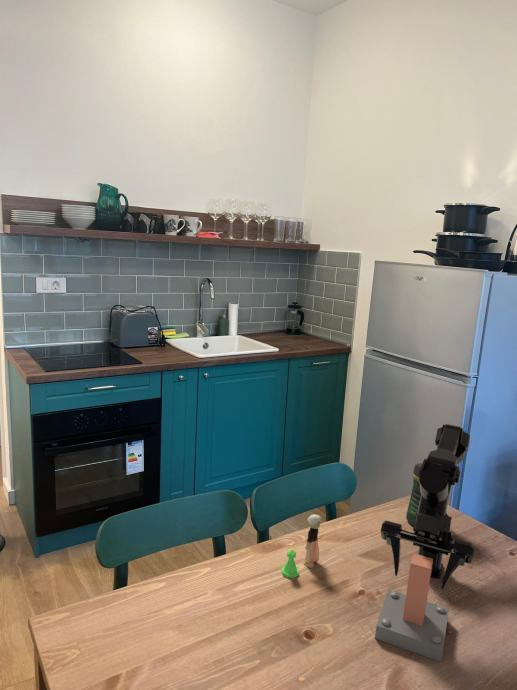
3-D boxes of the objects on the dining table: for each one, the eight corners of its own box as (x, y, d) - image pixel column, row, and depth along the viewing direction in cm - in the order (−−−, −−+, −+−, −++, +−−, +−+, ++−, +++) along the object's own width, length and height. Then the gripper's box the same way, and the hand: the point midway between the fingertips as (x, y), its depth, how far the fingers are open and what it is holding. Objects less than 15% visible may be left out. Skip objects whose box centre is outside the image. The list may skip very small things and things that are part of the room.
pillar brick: (405, 608, 115) (413, 553, 112) (424, 614, 113) (433, 558, 111) (402, 619, 111) (410, 563, 108) (422, 626, 109) (431, 569, 107)
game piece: (296, 580, 126) (298, 557, 125) (278, 575, 128) (280, 552, 126) (300, 569, 130) (303, 547, 129) (283, 565, 132) (285, 543, 130)
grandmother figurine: (317, 571, 130) (322, 523, 128) (301, 568, 131) (306, 521, 128) (320, 554, 137) (324, 508, 135) (305, 551, 138) (309, 506, 136)
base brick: (386, 601, 121) (388, 587, 120) (447, 620, 116) (449, 606, 115) (374, 638, 109) (376, 623, 109) (441, 661, 104) (443, 646, 104)
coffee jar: (419, 532, 151) (428, 471, 148) (401, 518, 158) (409, 459, 155) (445, 527, 155) (454, 467, 152) (427, 513, 162) (435, 456, 159)
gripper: (387, 485, 115) (370, 558, 107) (480, 508, 108) (469, 588, 100) (389, 504, 124) (374, 572, 116) (476, 526, 117) (465, 600, 109)
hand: (418, 582), depth 110 cm, fingers open, 9 cm apart
